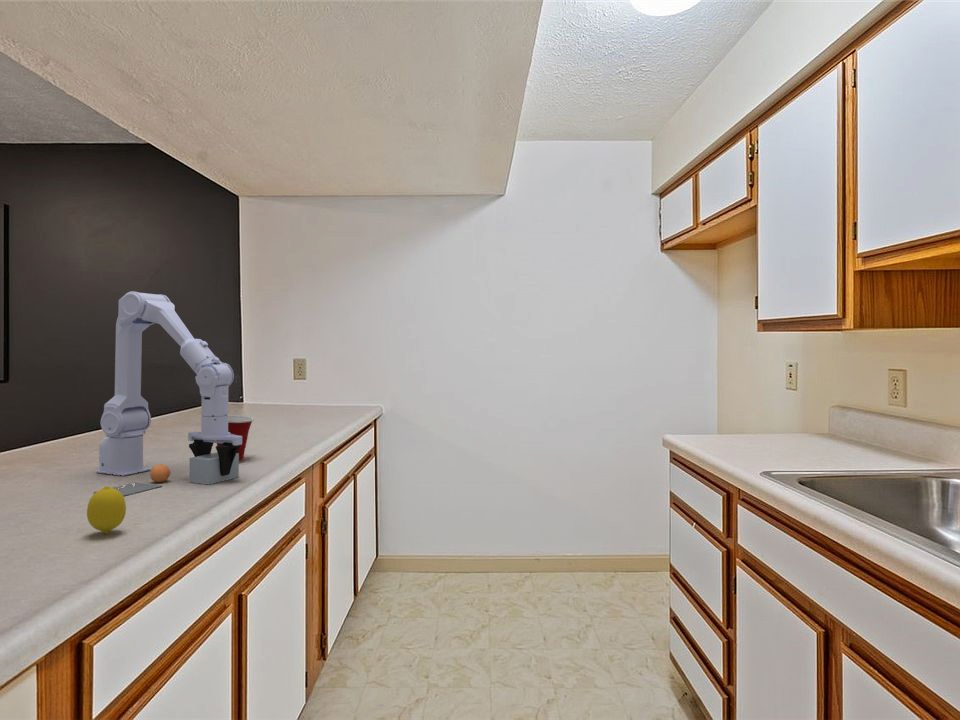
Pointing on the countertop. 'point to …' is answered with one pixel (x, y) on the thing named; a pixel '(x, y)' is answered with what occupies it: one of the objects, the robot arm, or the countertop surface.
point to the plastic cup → (239, 430)
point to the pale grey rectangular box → (210, 469)
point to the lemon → (106, 509)
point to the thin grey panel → (134, 488)
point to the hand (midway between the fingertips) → (214, 473)
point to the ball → (160, 473)
